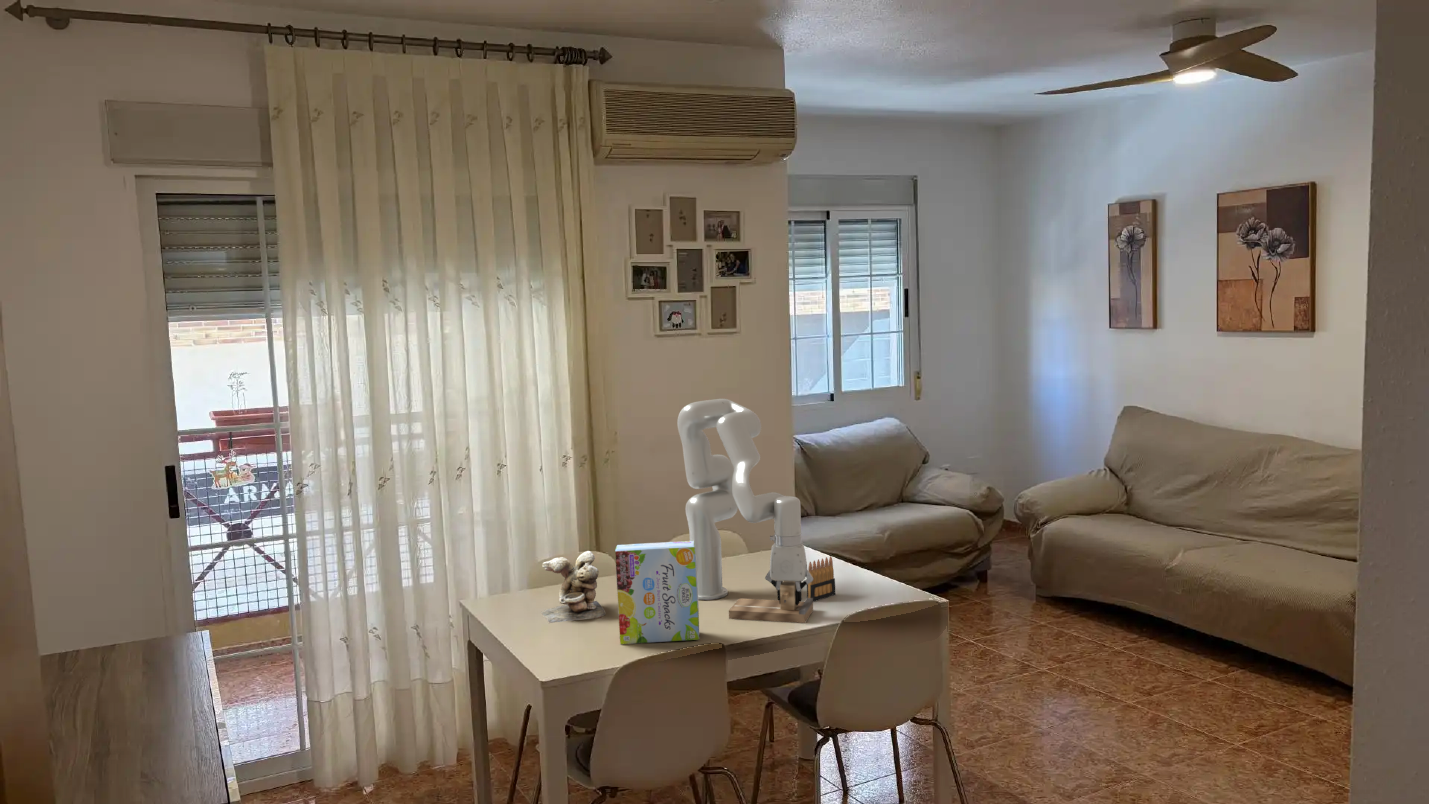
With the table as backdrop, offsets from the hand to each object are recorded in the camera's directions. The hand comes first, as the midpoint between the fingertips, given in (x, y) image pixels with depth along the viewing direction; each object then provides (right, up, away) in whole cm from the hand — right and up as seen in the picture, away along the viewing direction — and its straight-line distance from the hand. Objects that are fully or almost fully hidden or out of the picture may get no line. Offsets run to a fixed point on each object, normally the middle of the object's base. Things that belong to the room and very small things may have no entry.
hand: (789, 602), depth 305 cm
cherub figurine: (-63, -5, +10) cm, 64 cm away
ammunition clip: (+11, -2, +17) cm, 20 cm away
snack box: (-36, -7, -16) cm, 40 cm away
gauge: (0, -1, 0) cm, 1 cm away
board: (-5, -4, +2) cm, 7 cm away
